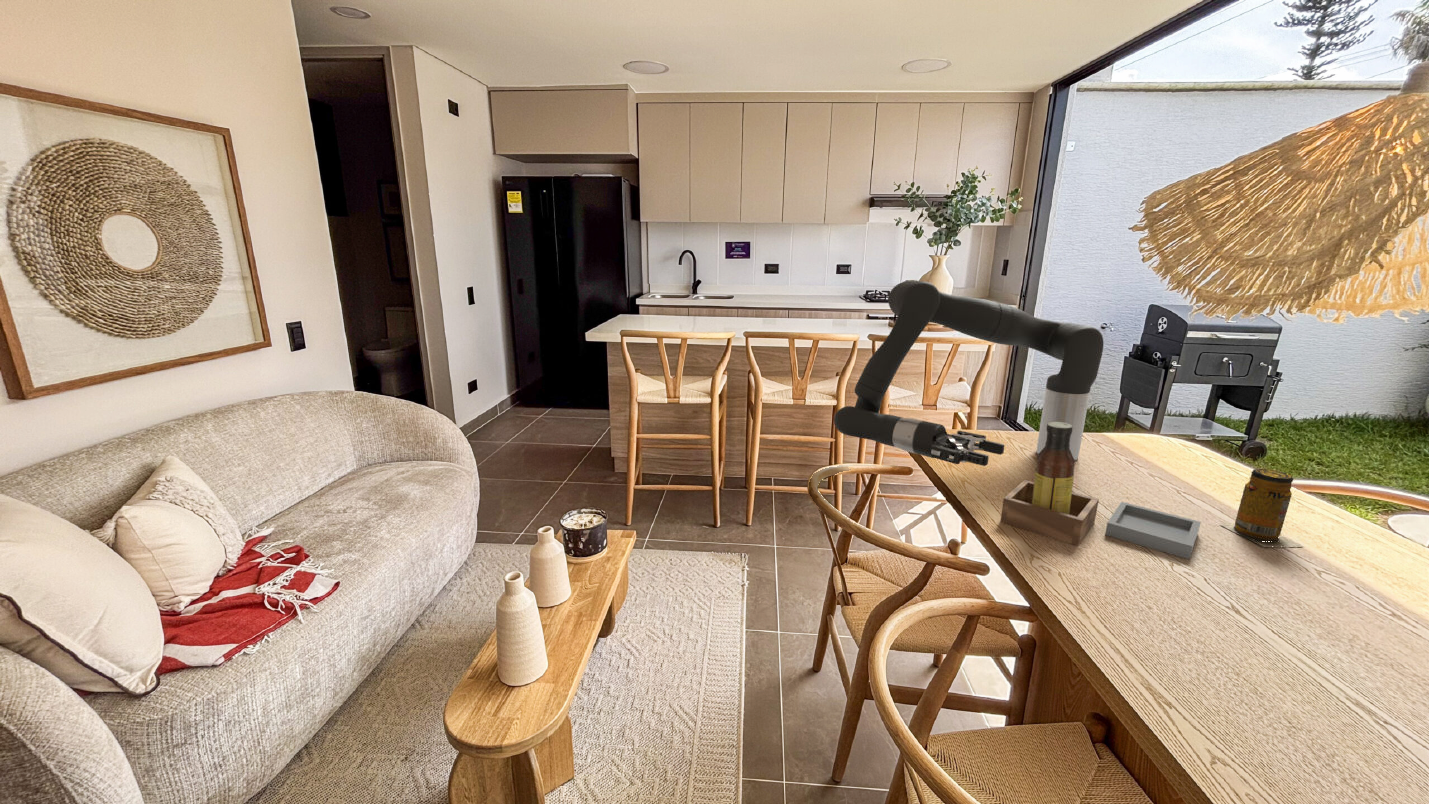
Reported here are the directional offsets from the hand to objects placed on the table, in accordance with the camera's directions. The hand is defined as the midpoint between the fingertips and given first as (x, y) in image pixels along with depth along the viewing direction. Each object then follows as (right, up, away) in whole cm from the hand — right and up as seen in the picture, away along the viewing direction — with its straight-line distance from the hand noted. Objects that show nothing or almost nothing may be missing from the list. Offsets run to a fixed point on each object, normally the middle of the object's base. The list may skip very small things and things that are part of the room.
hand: (995, 455), depth 111 cm
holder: (+8, -13, -4) cm, 15 cm away
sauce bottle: (+8, -13, -4) cm, 15 cm away
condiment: (+43, -14, -10) cm, 46 cm away
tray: (+24, -14, -9) cm, 29 cm away
